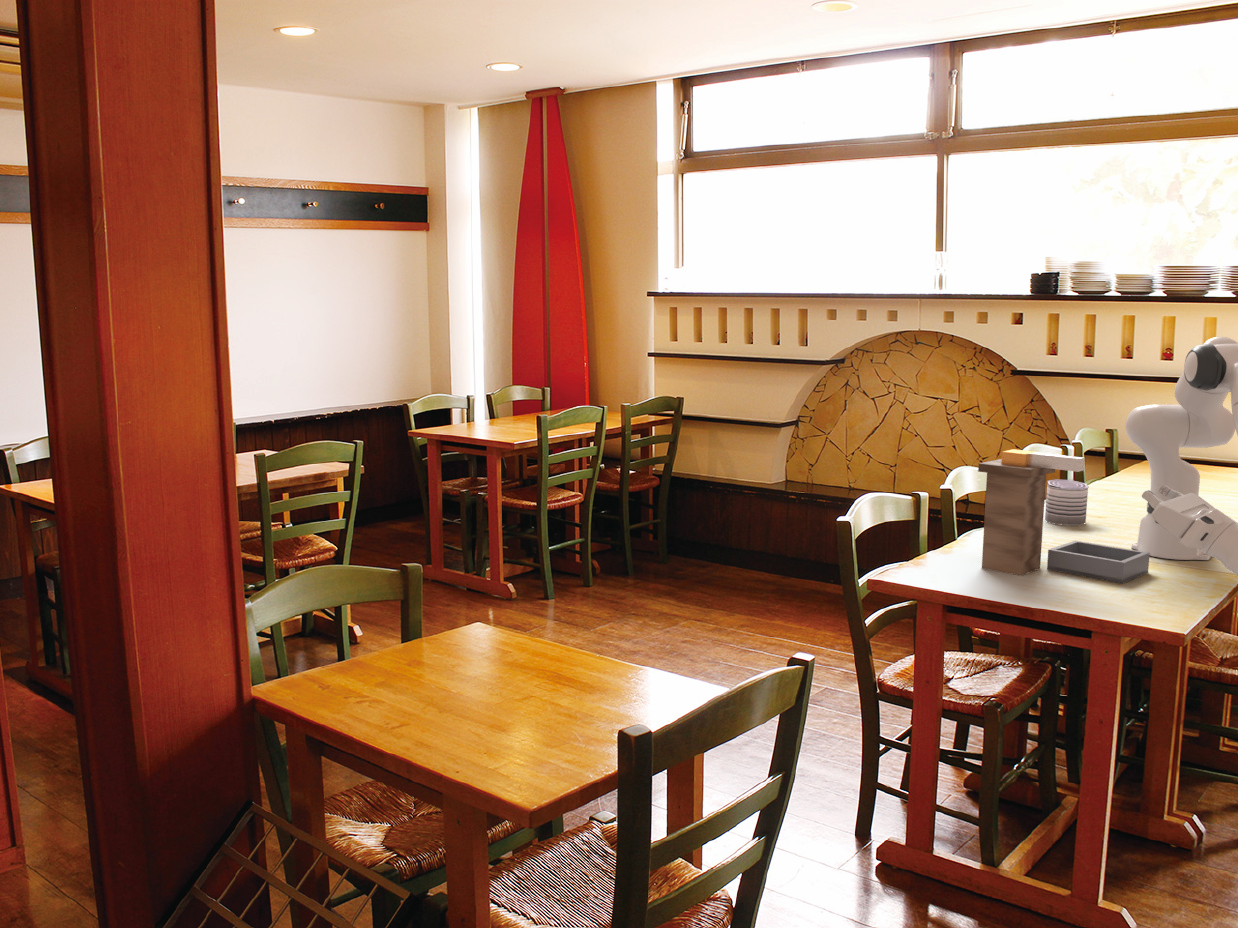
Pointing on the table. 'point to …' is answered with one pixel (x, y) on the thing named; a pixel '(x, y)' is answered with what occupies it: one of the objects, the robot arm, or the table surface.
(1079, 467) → the white and tan bar
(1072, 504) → the can
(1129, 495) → the table surface
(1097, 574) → the tray
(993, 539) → the post
